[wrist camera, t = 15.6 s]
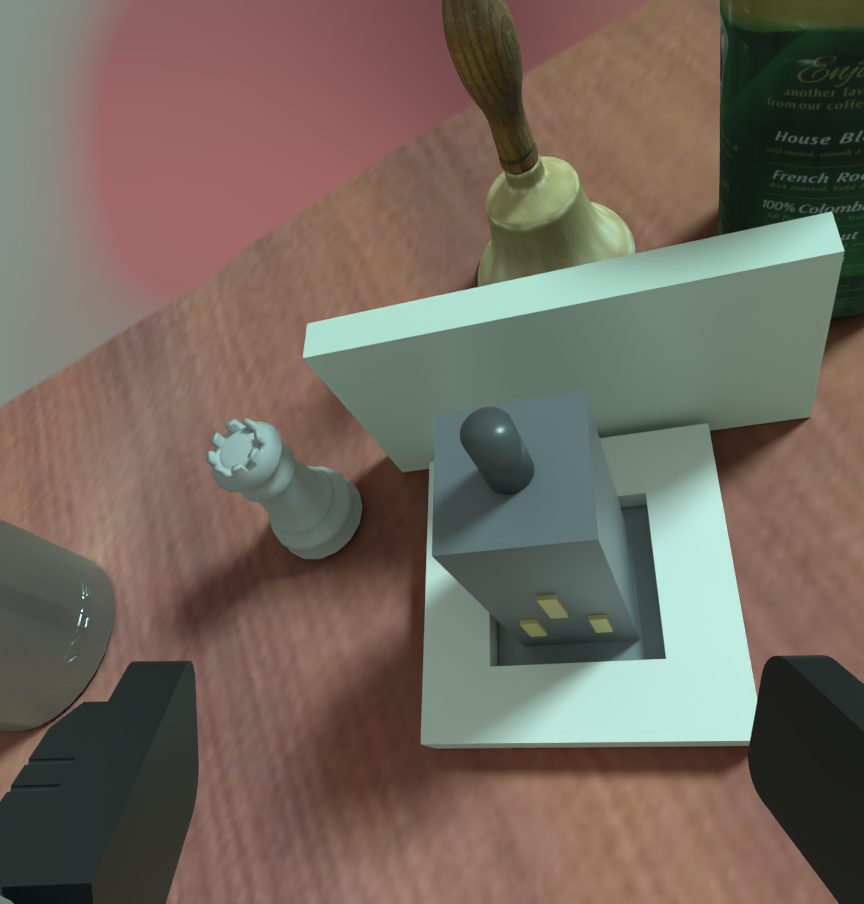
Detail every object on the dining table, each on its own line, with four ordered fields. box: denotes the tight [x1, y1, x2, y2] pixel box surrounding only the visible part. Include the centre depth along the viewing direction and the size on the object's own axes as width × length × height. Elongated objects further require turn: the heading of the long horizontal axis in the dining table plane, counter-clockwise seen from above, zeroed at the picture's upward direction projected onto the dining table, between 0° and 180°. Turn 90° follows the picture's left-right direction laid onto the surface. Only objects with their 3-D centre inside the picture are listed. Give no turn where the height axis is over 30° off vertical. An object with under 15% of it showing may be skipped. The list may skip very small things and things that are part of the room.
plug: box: [432, 390, 640, 647], centre depth 24 cm, size 4×5×13 cm
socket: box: [303, 212, 844, 749], centre depth 26 cm, size 18×14×10 cm
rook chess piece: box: [206, 418, 363, 559], centre depth 32 cm, size 4×4×8 cm
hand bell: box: [442, 0, 635, 287], centre depth 31 cm, size 8×8×16 cm
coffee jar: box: [718, 0, 864, 318], centre depth 25 cm, size 10×8×19 cm
